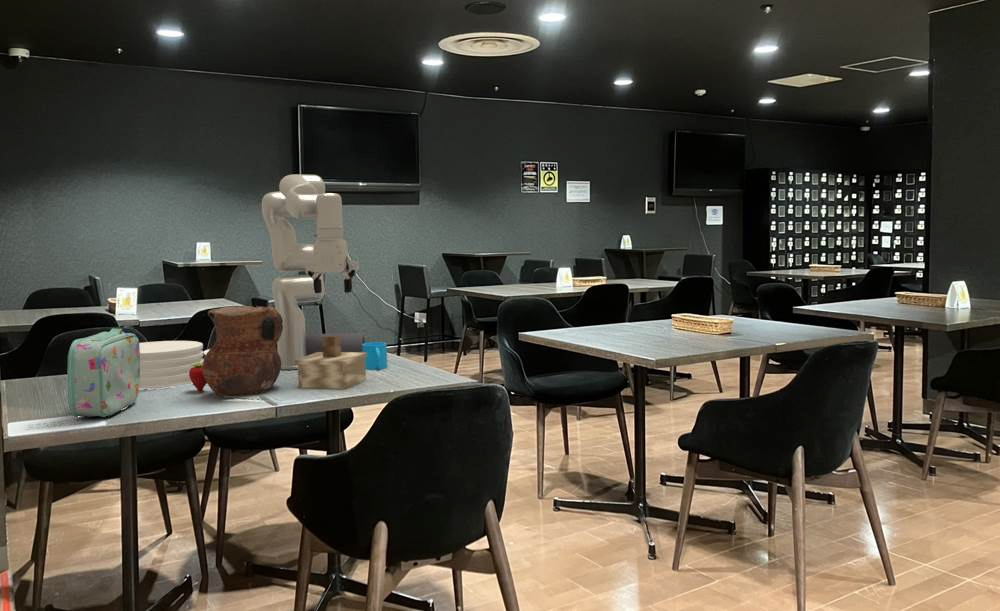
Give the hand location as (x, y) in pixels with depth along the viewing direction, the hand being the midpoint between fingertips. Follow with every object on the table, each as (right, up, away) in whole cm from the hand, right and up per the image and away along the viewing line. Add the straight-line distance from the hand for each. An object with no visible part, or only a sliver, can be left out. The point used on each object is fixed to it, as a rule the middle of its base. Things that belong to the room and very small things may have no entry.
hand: (333, 292), depth 249 cm
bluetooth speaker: (-10, -24, +50) cm, 56 cm away
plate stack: (-58, -28, +14) cm, 66 cm away
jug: (-24, -30, -9) cm, 39 cm away
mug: (+8, -25, +31) cm, 41 cm away
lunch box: (-54, -32, -29) cm, 69 cm away
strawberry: (-38, -29, -4) cm, 48 cm away
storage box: (0, -28, 0) cm, 28 cm away
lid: (0, -20, -1) cm, 20 cm away
